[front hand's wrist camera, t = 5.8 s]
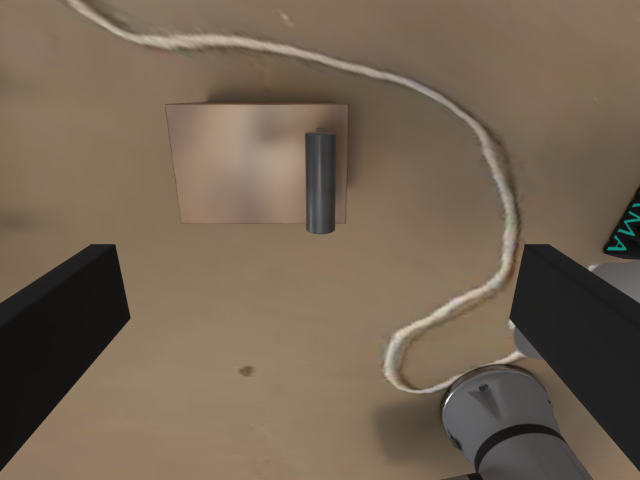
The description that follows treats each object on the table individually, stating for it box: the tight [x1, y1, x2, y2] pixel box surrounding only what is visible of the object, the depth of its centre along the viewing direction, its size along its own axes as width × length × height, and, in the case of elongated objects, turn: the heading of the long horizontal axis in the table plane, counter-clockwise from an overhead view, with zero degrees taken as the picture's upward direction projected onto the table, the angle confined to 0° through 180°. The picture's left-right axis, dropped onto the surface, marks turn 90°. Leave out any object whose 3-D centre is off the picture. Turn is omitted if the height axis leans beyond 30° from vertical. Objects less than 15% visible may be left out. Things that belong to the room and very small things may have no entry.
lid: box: [165, 104, 349, 234], centre depth 29 cm, size 15×10×9 cm
